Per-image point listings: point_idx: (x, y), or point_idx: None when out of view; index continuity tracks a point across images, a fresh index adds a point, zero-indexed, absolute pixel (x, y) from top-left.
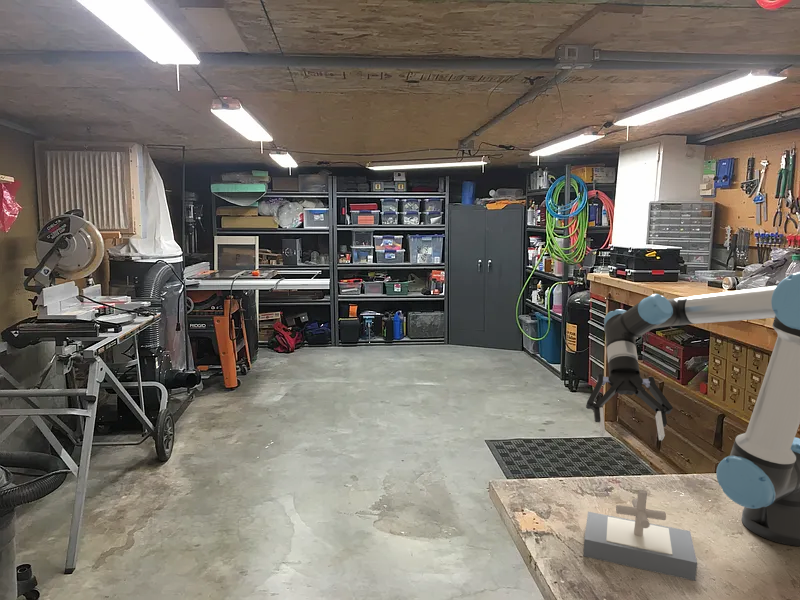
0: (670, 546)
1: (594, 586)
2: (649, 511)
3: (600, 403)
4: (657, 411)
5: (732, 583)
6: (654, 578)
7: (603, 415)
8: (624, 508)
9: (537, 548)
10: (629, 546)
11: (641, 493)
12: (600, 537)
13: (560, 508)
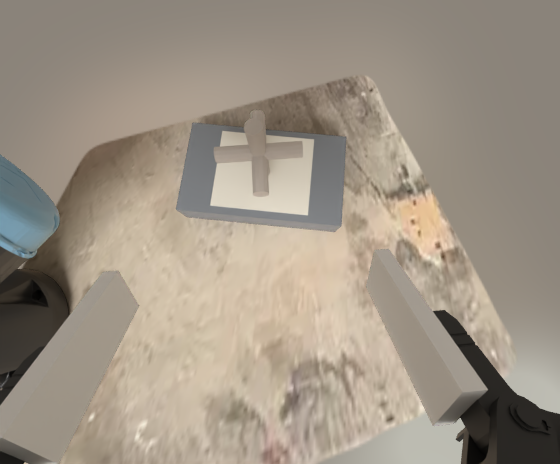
0: None
1: (325, 94)
2: (243, 145)
3: (513, 448)
4: (7, 436)
5: (156, 146)
6: None
7: (422, 324)
8: (289, 142)
9: (401, 152)
10: (281, 136)
11: (257, 119)
12: (322, 147)
13: None
